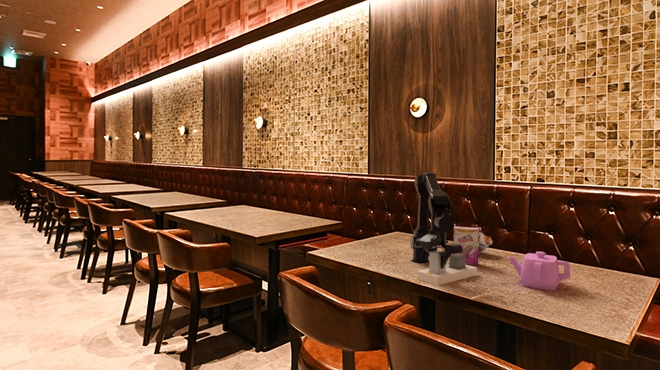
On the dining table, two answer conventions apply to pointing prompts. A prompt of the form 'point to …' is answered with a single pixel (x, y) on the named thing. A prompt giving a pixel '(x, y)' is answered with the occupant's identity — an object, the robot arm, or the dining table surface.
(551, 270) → the teakettle
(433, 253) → the plug
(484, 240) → the lucky cat figurine
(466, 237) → the candy bar box
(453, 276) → the power strip
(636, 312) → the dining table surface
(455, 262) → the twin plug
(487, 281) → the dining table surface
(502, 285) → the dining table surface
